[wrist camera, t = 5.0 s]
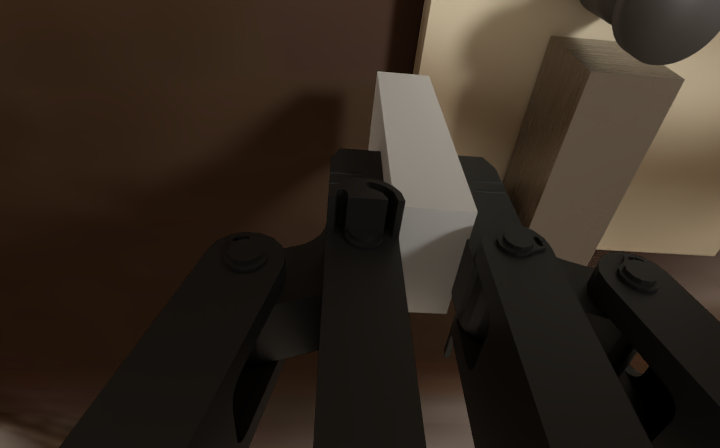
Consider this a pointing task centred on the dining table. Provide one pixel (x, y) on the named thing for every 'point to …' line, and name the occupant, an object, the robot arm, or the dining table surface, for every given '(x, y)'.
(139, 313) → the dining table surface
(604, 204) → the bar
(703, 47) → the beige piece
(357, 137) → the dining table surface
